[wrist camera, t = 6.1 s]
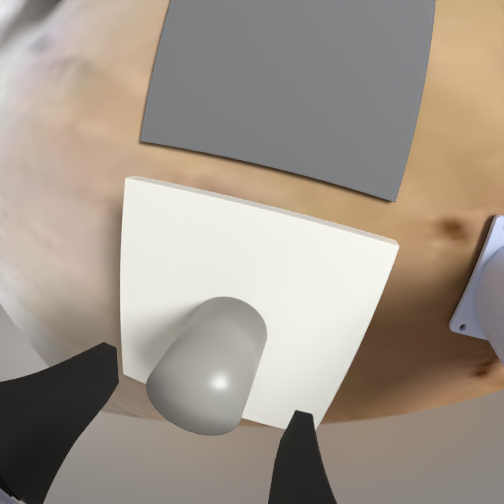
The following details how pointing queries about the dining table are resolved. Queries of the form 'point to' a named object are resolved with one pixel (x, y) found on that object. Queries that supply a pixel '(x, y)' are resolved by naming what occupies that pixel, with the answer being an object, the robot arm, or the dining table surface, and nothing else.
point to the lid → (241, 305)
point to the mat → (295, 85)
